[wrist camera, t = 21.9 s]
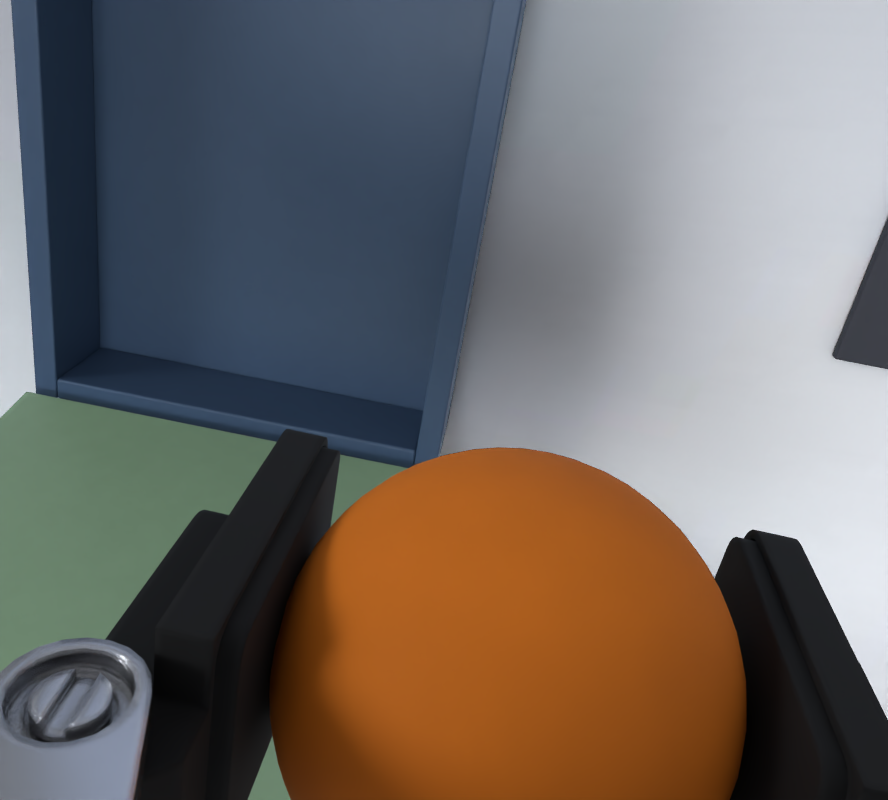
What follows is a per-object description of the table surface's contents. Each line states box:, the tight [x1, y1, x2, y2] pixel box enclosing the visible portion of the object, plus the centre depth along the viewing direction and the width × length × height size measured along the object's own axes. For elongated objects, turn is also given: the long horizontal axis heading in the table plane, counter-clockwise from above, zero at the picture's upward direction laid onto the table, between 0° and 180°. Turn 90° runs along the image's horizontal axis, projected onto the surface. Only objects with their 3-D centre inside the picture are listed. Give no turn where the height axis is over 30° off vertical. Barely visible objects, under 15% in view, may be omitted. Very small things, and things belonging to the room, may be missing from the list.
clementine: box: [269, 447, 747, 800], centre depth 9 cm, size 5×5×5 cm
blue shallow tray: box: [11, 0, 526, 468], centre depth 27 cm, size 18×15×4 cm
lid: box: [0, 392, 408, 800], centre depth 22 cm, size 18×15×5 cm
